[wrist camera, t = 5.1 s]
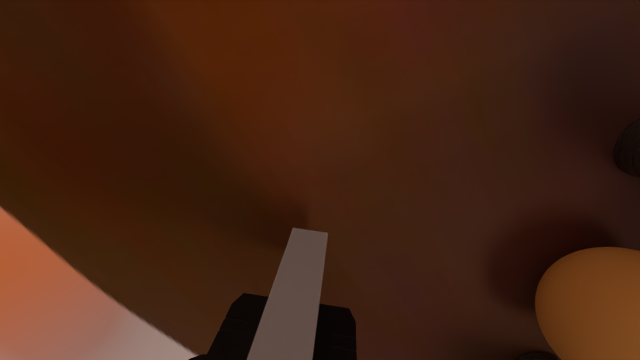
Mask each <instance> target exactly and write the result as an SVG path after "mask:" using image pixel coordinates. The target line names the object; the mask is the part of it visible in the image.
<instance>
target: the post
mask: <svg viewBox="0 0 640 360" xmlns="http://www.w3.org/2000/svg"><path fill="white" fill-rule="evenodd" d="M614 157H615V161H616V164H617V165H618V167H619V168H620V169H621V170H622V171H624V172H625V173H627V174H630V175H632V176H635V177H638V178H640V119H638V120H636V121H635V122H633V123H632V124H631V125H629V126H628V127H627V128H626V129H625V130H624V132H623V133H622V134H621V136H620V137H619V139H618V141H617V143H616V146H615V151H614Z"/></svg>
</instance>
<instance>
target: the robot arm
mask: <svg viewBox="0 0 640 360" xmlns="http://www.w3.org/2000/svg"><path fill="white" fill-rule="evenodd" d="M327 238H328V233H326V232H319V231H312V230H305V229H298V228H293V229H292V232H291V235H290V237H289V240H288V243H287V246H286V249H285V252H284V255H283V257H282V260H281V263H280V266H279V269H278V272H277V275H276V277H275V280H274V283H273V286H272V289H271V292H270V295H269V297H266V296H259V295H253V294H246V293H243V294H242V295H241V296H240V297H239V298H238V299H237V300H236V301H234V302H233V303H232V305H231V307H230V309H229V311H228V313H227V315H226V318H225V319H224V321H223V323H222V325H221V327H220V331H218V333H217V335H216V337H215V339H214V341H213V343H212V345H211V347H210V349H209V351H208V353H207V354H202V355H199V356H197V357H194V358H191V359H189V360H357V355H356V322H355V320H354V318H353V316H352V314H351V312H350V310H349V308H343V307H336V306H330V305H324V304H319V302H320V294H321V286H322V278H323V270H324V262H325V254H326V246H327Z"/></svg>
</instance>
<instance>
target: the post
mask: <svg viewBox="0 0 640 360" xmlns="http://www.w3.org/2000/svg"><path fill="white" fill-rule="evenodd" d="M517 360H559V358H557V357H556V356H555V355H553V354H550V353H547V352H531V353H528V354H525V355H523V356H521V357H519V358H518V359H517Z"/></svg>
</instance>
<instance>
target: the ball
mask: <svg viewBox="0 0 640 360" xmlns="http://www.w3.org/2000/svg"><path fill="white" fill-rule="evenodd" d="M535 310H536V316H537V320H538V323H539V326H540V329H541V331H542V333H543V335H544V337H545V339H546V340H547V342H548V344H549V345H550V347H551V348H552V349H553V350H554V352H555V353H556V354H557V355H558V357H559V358H560V359H561V360H640V251H638V250H634V249H628V248H619V247H595V248H587V249H583V250H580V251H576V252H573V253H571V254H568V255H566V256H564V257H562V258H560V259H559V260H557V261H556V262H555V263H554V264H552V265H551V266H550V267H549V268H548V269H547V270H546V272H545V273H544V274H543V276H542V278H541V279H540V281H539V284H538V286H537V291H536V295H535Z"/></svg>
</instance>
